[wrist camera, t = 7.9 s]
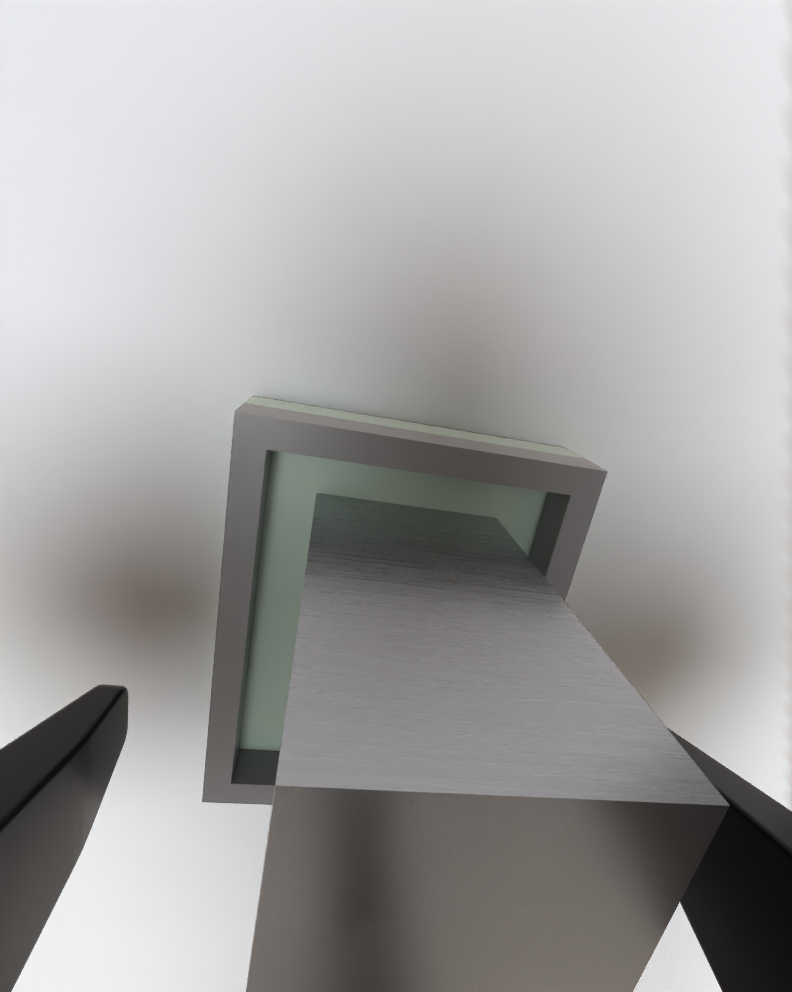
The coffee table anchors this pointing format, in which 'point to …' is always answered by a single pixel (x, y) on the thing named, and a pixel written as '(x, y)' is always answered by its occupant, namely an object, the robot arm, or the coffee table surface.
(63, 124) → the coffee table surface
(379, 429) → the grey green tray
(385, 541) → the billet
